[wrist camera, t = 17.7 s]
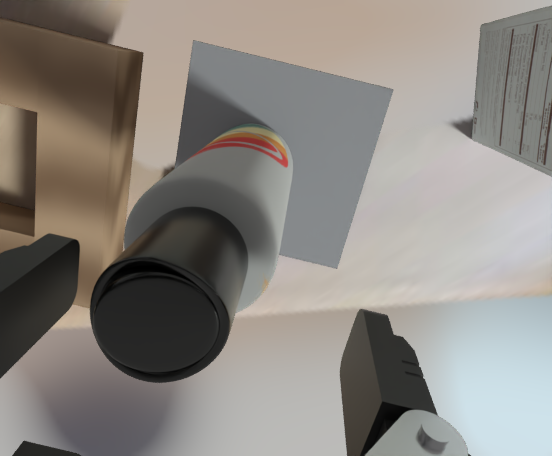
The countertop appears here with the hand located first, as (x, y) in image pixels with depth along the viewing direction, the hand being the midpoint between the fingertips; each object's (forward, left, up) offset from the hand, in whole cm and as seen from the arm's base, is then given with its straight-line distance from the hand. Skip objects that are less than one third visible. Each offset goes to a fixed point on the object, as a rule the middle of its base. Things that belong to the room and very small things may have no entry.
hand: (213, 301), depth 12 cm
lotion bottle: (0, -1, -19) cm, 19 cm away
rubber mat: (0, 0, -20) cm, 20 cm away
